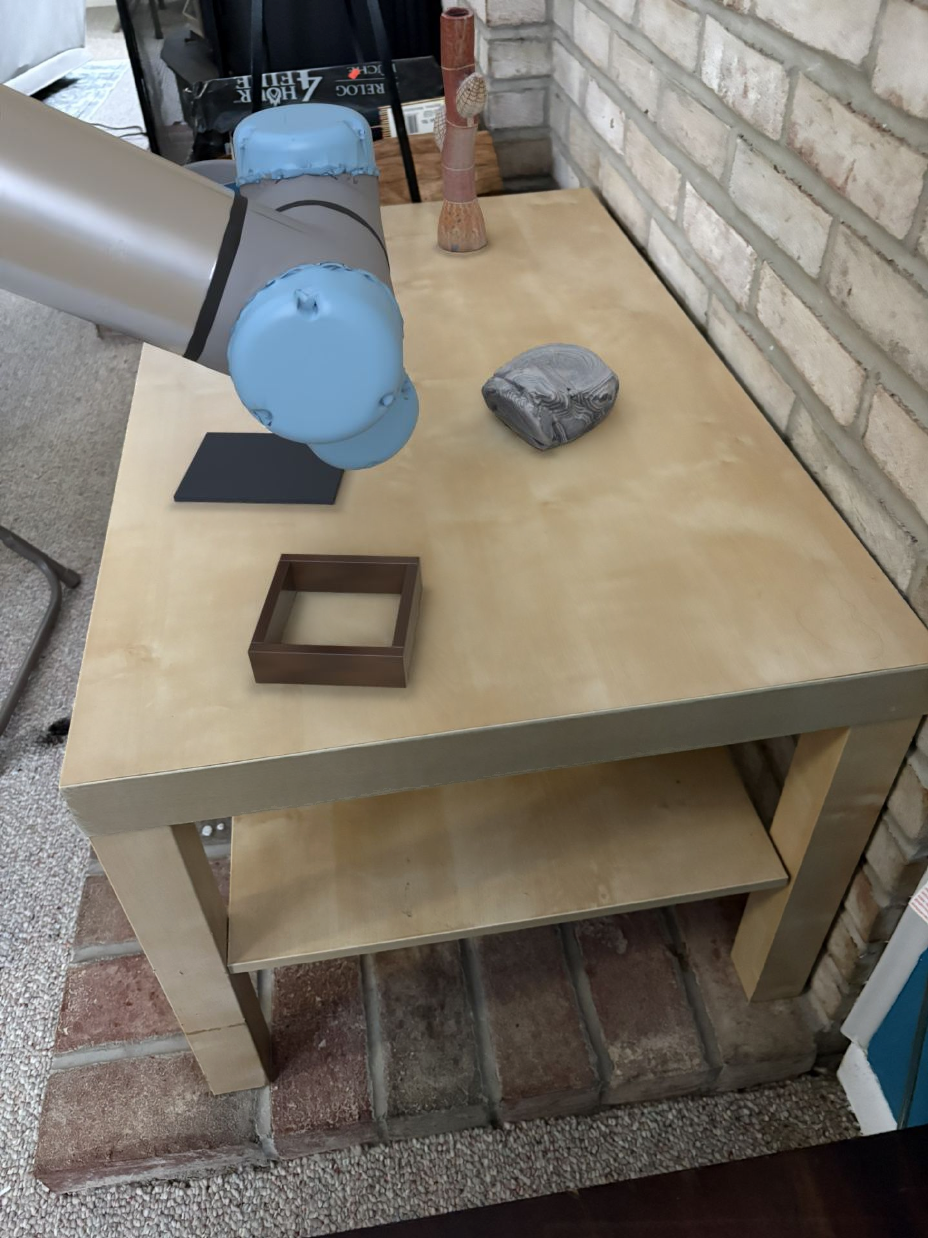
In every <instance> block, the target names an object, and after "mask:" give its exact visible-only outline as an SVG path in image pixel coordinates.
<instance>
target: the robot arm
mask: <svg viewBox="0 0 928 1238" xmlns="http://www.w3.org/2000/svg"><path fill="white" fill-rule="evenodd" d="M232 145H233V152H234V160H236V167H237V178H236V186H237V188H238V187H239V189H240V193H241V195H240V194H238V193H235V192H234V190H232V189H230V188H227V187H225V186H223V185H221V184H219V183H216V182H214V181H212V180H210V179H208V178H206V177H203V176H201V175H199V174H197V173H195V172H193V171H190V170H188V169H186V168H184V167H182V166H183V165H182V166H181V165H179V164H177V163H175V162H173V161H172V160H169V159H166V158H164V157H162V156H161V155H158V154H156V153H154V152H151V151H150V150H147V149H145V148H142V147H140V146H139V145H136V144H134V143H132V142H130V141H128V140H125V139H123V138H122V137H119V136H117V135H114V134H112V133H110V132H108V131H106V130H103V129H101V128H99V127H97V126H95V125H93V124H91V123H89V122H86V121H84V120H82V119H79V118H78V117H75V116H73V115H72V114H69V113H67V112H65V111H63V110H60V109H58V108H55V107H54V106H52V105H50V104H47V103H45V102H42V101H41V100H39V99H37V98H34V97H32V96H30V95H28V94H25V93H23V92H21V91H19V90H18V89H17V90H16V89H15V88H12V87H10V86H8V85H6V84H4V83H1V82H0V290H3V291H5V292H9V293H11V294H13V295H16V296H19V297H21V298H25V299H27V300H30V301H33V302H35V303H38V304H41V305H43V306H46V307H48V308H51V309H54V310H56V311H60V312H62V313H65V314H67V315H70V316H73V317H75V318H78V319H81V320H83V321H86V322H89V323H91V324H94V325H97V326H99V327H102V328H105V329H108V330H110V331H112V332H116V333H118V334H121V335H123V336H126V337H129V338H132V339H133V340H137V341H139V342H142V343H145V344H147V345H150V346H153V347H156V348H158V349H161V350H164V351H166V352H169V353H172V354H174V355H177V356H180V357H181V358H184V359H186V360H188V361H191V362H193V363H196V364H198V365H200V366H202V367H204V368H207V369H209V370H212V371H214V372H218V373H220V374H223V375H226V376H228V377H229V378H230V380H231V381H232V383H233V387H234V389H235V391H236V394H237V397H238V399H239V400H240V402H241V405H243V406H244V407H245V408H246V410H247V411H248V412H249V413H250V414H251V416H252V417H253V418H254V419H256V420H257V421H258V422H259V423H260V424H261V425H262V426H264V427H265V429H267V430H268V431H270V433H274V434H276V435H279V436H281V437H283V438H285V439H289V440H292V441H295V442H300V443H305V444H307V445H308V446H309V447H310V448H311V450H312V451H313V452H314V453H315V454H316V455H317V456H318V457H319V458H320V459H321V460H323V461H324V462H326V463H328V464H329V465H331V466H334V467H337V468H340V469H344V470H347V471H360V470H366V469H371V468H373V467H376V466H379V465H381V464H384V463H386V462H387V461H389V460H391V459H392V458H393V457H394V456H396V455H397V454H398V453H399V452H400V451H401V450H402V449H403V448H404V447H405V446H406V445H407V443H408V442H409V440H410V439H411V437H412V435H413V434H414V431H415V429H416V427H417V424H418V419H419V418H418V417H419V415H420V414H419V412H420V402H419V401H420V400H419V396H418V392H417V389H416V387H415V385H414V383H413V381H412V380H411V378H410V376H409V374H408V372H407V371H406V367H405V366H404V338H405V332H404V331H405V330H404V324H405V321H404V318H403V315H402V311H401V308H400V306H399V303H398V301H397V298H396V294H395V289H394V286H393V282H392V276H391V267H390V265H391V264H390V259H389V255H388V254H389V253H388V248H387V243H386V237H385V232H384V227H383V222H382V213H381V203H380V201H381V199H380V185H379V179H380V178H379V177H380V171H379V168H378V165H377V164H376V155H375V149H374V141H373V132H372V129H371V126H370V123H369V121H368V120H367V119H366V118H365V117H364V116H363V115H362V114H361V113H359V112H358V111H356V110H355V109H352V108H350V107H346V106H343V105H339V104H338V105H337V104H331V103H318V102H317V103H293V104H286V105H280V106H274V107H269V108H266V109H265V108H264V109H261V110H260V111H257V112H254V113H252V114H250V115H248V116H246V117H245V118H243V119H242V120H241V121H240V122H239V123H238V124H237V126H236V127H235V129H234V132H233V137H232Z"/></svg>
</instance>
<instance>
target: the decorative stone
mask: <svg viewBox="0 0 928 1238" xmlns="http://www.w3.org/2000/svg"><path fill="white" fill-rule="evenodd" d="M619 390H620V379H619V377H618V375H617V373H616V372H615V371H614V370H613V369H611V367H610V366H609V365H608V364H607V363H606V362H605V361H604V360H603V359H602V358H601V357H600V356H599V355H598V354H597V353H595V352H594V351H593V350H591V349H589V348H587V347H584V346H581V345H579V344H574V343H563V342H551V343H545V344H542V345H539V346H534V347H533V348H530V349H528V350H526V351H524V352H521V354H519V355H517V356H515V357H514V358H512V359H511V360H509V361H508V362H506V363H504V364H503V365H502V366H501V367H500V368H498V369H497V370H496V371H494V372H493V374H492V376H490V377H489V378H488V379H487V380H486V382H484V384H483V385H482V387H481V389H480V391H481V395H482V398H483V401H484V402H485V405H486V406H487V407H488V409H489V410H490V411H491V412H492V413H493V414H494V415H495V416H496V417H498V418H499V419H500V420H502V422H504V423H505V424H506V425H507V426H508V427H509V428H510V429H511V430H512V431H513V432H514V433H517V434H518V435H519V436H520V437H521V439H523V440H524V441H525V442H526V443H528V444H529V445H531V446H532V447H535V448H538V449H540V450H542V451H548V450H551V449H552V448H555V447H557V446H559V445H562V444H563V445H564V444H567V443H569V442H572V441H574V440H576V439H577V438H579V437H581V436H582V435H584V434H586V433H587V432H589V431H590V430H592V429H593V428H595V427H596V426H597V425H598V424H599V423H600V422H601V420H602V419H603V418H604V417H605V416H606V415H608V414H609V413H610V412H611V411H612V409H613V407H614V406H615V402H616V400H617V397H618V393H619Z"/></svg>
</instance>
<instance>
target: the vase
mask: <svg viewBox="0 0 928 1238" xmlns="http://www.w3.org/2000/svg"><path fill="white" fill-rule="evenodd" d="M439 20H440V21H439V22H440V68H441V75H442V80H443V89H444V104H441V105H439V107H438V109H437V111H436V115H435V117H434V121H433V131H432V132H433V137H434V142H435V144H436V146H437V147H438V149H439V151H440V154H441V163H440V165H441V176H442V184H443V185H442V186H443V201H442V206H441V210H440V213H439V217H438V222H437V244H438V246H439V247H440V248H441V249H443V250H445V251H448V252H451V253H468V252H472V251H478V250H480V249H482V248H483V247H485V246H486V245H487V242H488V238H487V237H488V236H487V227H486V223H485V218H484V216H483V211H482V208H481V205H480V203H479V199H478V196H477V186H476V184H477V183H476V166H475V148H476V139H477V134H478V127H479V121H480V118H479V113H481V112H483V110H484V108H485V105H486V103H487V100H488V91H487V85H486V81H485V78H484V75H483V74H482V73H480V72H479V71H476V59H475V44H476V43H475V42H476V39H475V37H476V28H475V27H476V26H475V12H474V11H473V10H472V9H471V8H470V7H464V6H463V7H462V6H461V7H460V6H448V7H447V8H446V10H445V11H443V12H441V14H440V18H439Z"/></svg>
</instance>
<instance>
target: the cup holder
mask: <svg viewBox="0 0 928 1238" xmlns="http://www.w3.org/2000/svg"><path fill="white" fill-rule="evenodd" d="M421 565H422V564H421V557H420V556H407V555H406V556H405V555H404V556H402V555H397V556H396V555H364V554H361V555H360V554H354V555H353V554H320V553H317V554H316V553H281V554H280V556H279V561H278V562H277V564H276V568H275V572H274V574H273V577H272V580H271V583H270V585H269V588H268V592H267V594H266V597H265V600H264V604H263V605H262V609H261V612H260V614H259V617H258V620H257V623H256V626H255V628H254V631H253V634H252V636H251V640H250V643H249V646H248V649H247V655H248V659H249V663H250V666H251V670H252V673H253V677H254V682H255V683H256V684H280V685H281V684H282V685H308V686H309V685H312V686H314V685H315V686H316V685H317V686H339V687H341V686H342V687H343V686H344V687H368V688H369V687H371V688H373V687H374V688H400V689H401V688H403V689H406V688H407V686H408V680H409V679H408V678H409V672H410V665H411V659H412V654H413V649H414V648H413V647H414V643H415V636H416V630H417V624H418V623H417V622H418V617H419V612H420V604H421V597H422V591H423V578H422V567H421ZM297 592H304V593H305V592H308V593H309V592H310V593H341V594H342V593H346V594H381V595H382V594H385V595H386V594H388V595H400V601H399V604H398V605H399V606H398V611H397V617H396V620H395V621H396V622H395V628H394V631H393V639H392V644H391V646H366V645H365V646H362V645H359V646H358V645H331V644H329V645H328V644H327V645H326V644H300V643H299V644H296V643H281V642H282V639H283V635H284V632H285V629H286V625H287V622H288V619H289V616H290V613H291V610H292V606H293V603H294V600H295V597H296V594H297Z"/></svg>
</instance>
